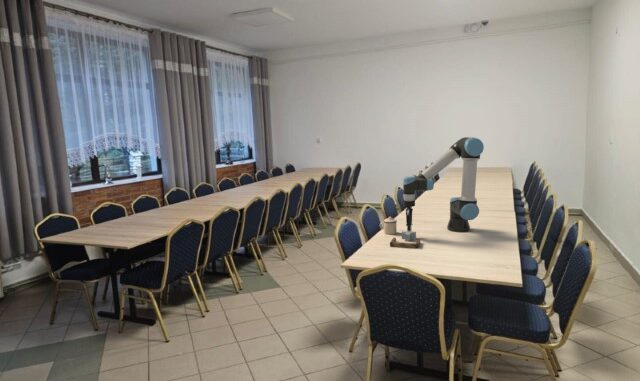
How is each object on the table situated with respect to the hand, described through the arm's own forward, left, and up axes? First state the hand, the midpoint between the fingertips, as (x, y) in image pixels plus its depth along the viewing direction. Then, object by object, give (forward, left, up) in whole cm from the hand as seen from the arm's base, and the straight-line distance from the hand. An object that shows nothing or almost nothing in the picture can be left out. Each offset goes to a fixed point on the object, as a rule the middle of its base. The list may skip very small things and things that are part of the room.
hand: (409, 234), depth 268 cm
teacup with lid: (+16, -8, -2) cm, 18 cm away
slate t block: (0, +6, -2) cm, 6 cm away
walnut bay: (0, +18, -2) cm, 18 cm away
